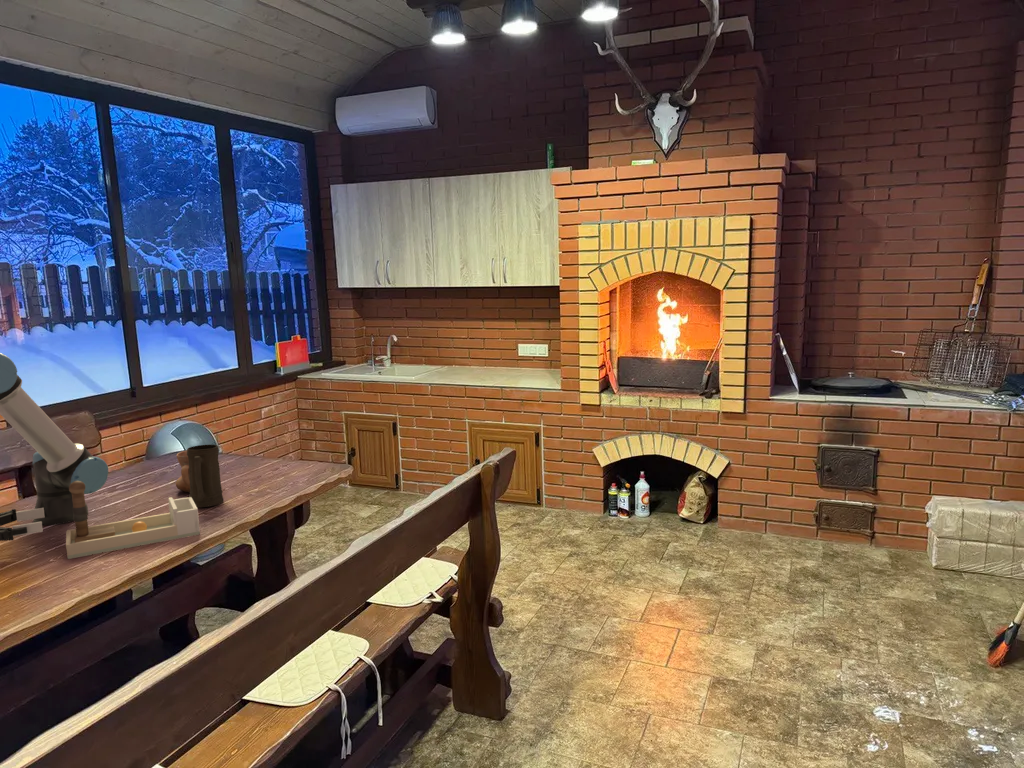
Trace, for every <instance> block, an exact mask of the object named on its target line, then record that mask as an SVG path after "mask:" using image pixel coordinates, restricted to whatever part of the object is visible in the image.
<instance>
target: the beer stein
mask: <svg viewBox="0 0 1024 768" xmlns="http://www.w3.org/2000/svg"><path fill="white" fill-rule="evenodd" d="M186 450H187V456H188V460H189V474H190V492H189V497H192V499H193V501H194V503H195V505H196V507H197V508H208V507H213V506H217V505H221V504H222V503H223V502H225V501H224V496H223V489H222V483H221V482H222V480H221V471H220V470H221V469H220V463H219V452H220V449H219V446H218V444H200V445H194V446H190V447H187V449H186Z"/></svg>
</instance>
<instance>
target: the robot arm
mask: <svg viewBox="0 0 1024 768" xmlns="http://www.w3.org/2000/svg"><path fill="white" fill-rule="evenodd" d="M22 384H23V379H22V378H21V377H20V376H19V375H18V369H17V366H16V364H15V363H14V361H13V360H12V359H11V358H10V357H9V356H7V355H5V354H3V353H1V352H0V416H2V418H3V419H4V420H5V421H6V422H7V423H8V424H9V425H10V426H11V427H12V428H13V429H14V430H15V431H16V432H17V433H18V434H19V435H20V436H21V438H23V439H24V440H25V441H26V442H27V443H28V444H29V445H30V446H31V447H32V448H33V449H34V450H35V451H36V452H34V453H33V455H32V467H33V474H34V483H35V489H36V497H37V498H36V501H35V505H34V508H33V509H26V510H19V511H17V509H16V508H12V509H10V510H8V511H3V512H0V542H2V541H3V542H5V541H9V542H10V541H14V537H19V536H25V535H31V534H38V533H43V532H44V531H43V526H51V525H53V526H54V525H60V524H61V525H62V524H66V523H70V522H75V521H74V517H73V508H72V507H73V501H72V493H71V492H70V491H69V486H70V484H71V483H72V482H74V481H82V482H83V483H84V484H85V491H84V495H90V494H93V493H96V492H98V491H99V490H100V489H102V487H103V486H104V485H105V484H106V482H107V480H108V479H109V478H108V476H109V471H110V470H109V466H108V463H107V462H106V461H105V460H104V459H103V458H101V457H99V456H94V455H93V454H92V453H91V452H90V450H88V449H87V448H86V447H85V446H84V444H82V443H77V442H76V443H74V442H73V441H72V440H71V439H70V438H69V437H68V436H67V434H65V433H64V431H63V430H62V429H61V428H60V427H59V426H58V425H57V424H56V423H55V422H54V421H53V420H52V419H51V418H50V417H49V415H47V414H46V411H44V410H43V409H42V407H40V406H39V405H38V404H37V403H36V401H34V400H33V398H31V396H30V395H29V393H28V392H26V391H25V390H24V389H23V388H22ZM85 505H86V507H87V515H88V514H89V508H88V504H87V503H86V501H85ZM30 520H33V522H29V523H23V524H18V525H17V524H16V525H12V527H6V526H5V525H8V524H10V523H11V524H12V523H13V522H16V521H17V523H18V522H23V521H24V522H25V521H30ZM3 526H5V527H3Z"/></svg>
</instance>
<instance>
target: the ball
mask: <svg viewBox="0 0 1024 768" xmlns="http://www.w3.org/2000/svg"><path fill="white" fill-rule="evenodd" d="M144 530H147V525H146V523H144V522H142V521H139V522H136V523H135V524H134V525H133V526H132V531H133V532H138V531H144Z"/></svg>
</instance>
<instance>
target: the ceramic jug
mask: <svg viewBox="0 0 1024 768" xmlns="http://www.w3.org/2000/svg"><path fill="white" fill-rule="evenodd" d="M176 460H177V461H178V463H179V465H180V467H181V469H180V470H181V471H180V476H179V477H178V478H177V480H176V481H175V487H176V489H178V490H179V491H181V492H185V493H190V474H189V460H188V456H187V449H186V450H183V451H179V452H178V453H177V454H176Z"/></svg>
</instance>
